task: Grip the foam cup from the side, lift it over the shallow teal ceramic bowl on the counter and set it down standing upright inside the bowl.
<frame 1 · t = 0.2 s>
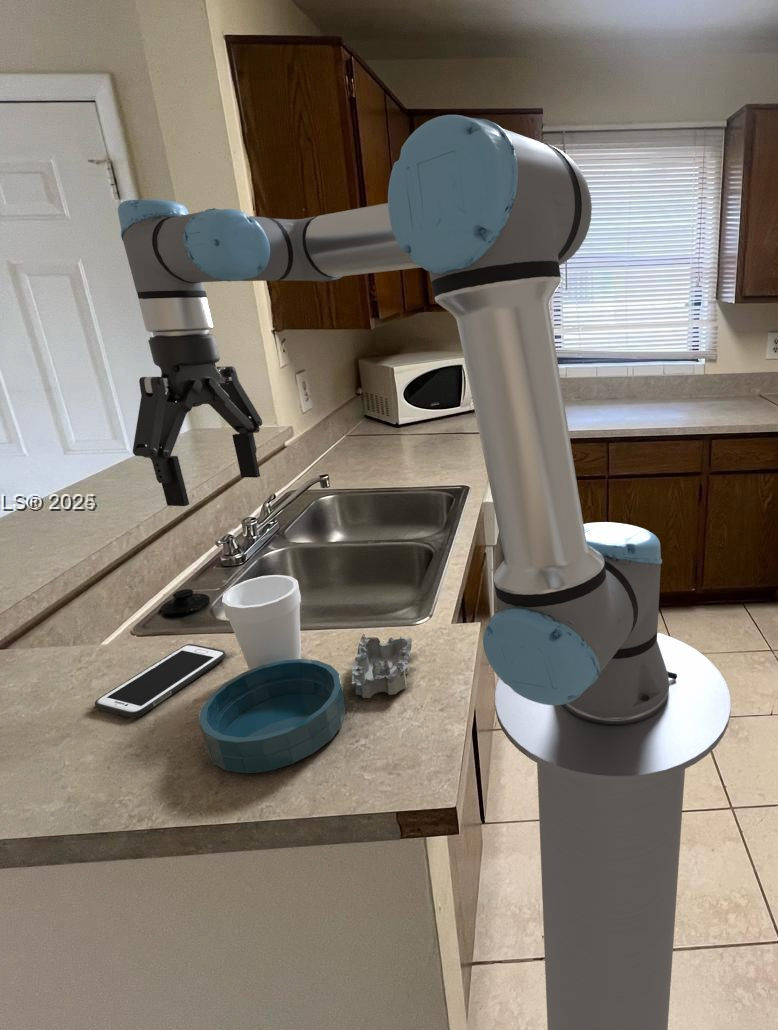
hand: (217, 490, 86), 25 cm above the counter, tool pointing down, fingers open, 13 cm apart
foam cup: (278, 671, 88), on the counter
cell phone: (165, 682, 85), on the counter
egg carton: (385, 675, 87), on the counter
bowl: (280, 729, 76), on the counter
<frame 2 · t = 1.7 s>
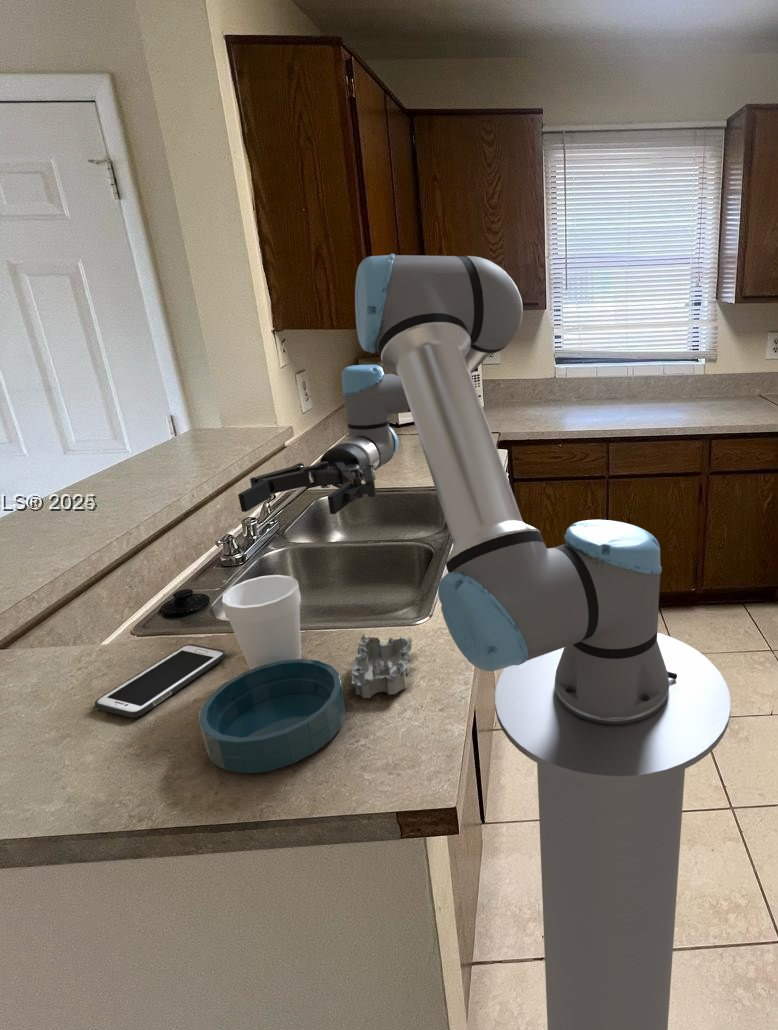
hand: (286, 504, 89), 22 cm above the counter, tool horizontal, fingers open, 13 cm apart
nothing on the counter moved.
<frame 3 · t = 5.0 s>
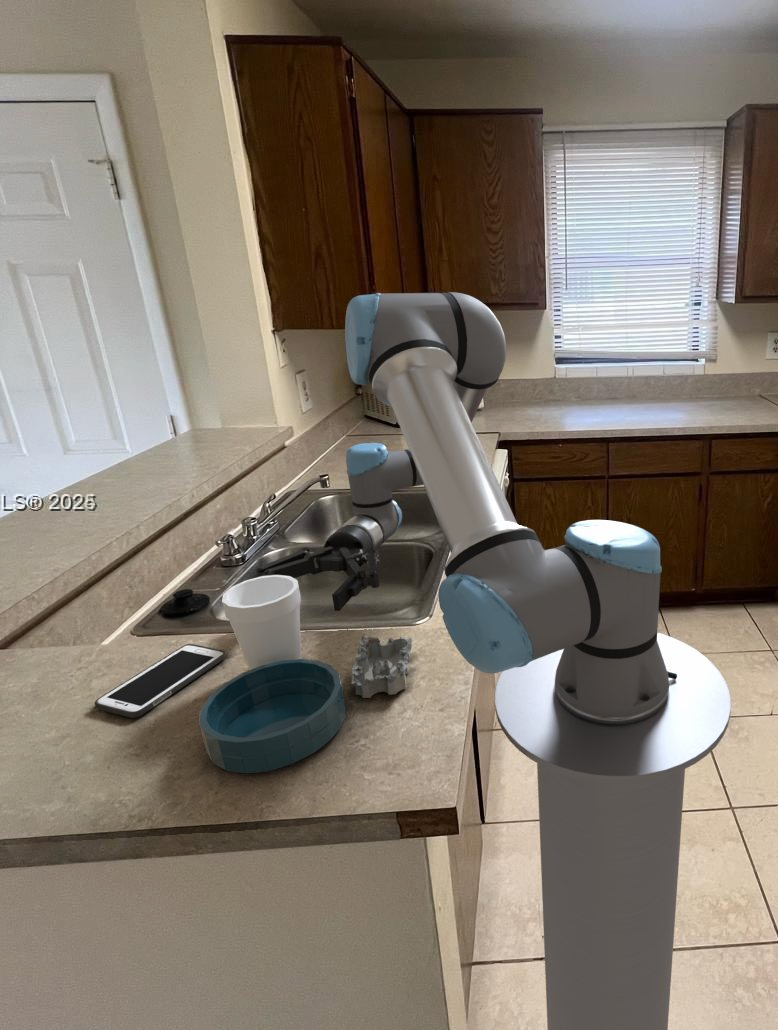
hand: (291, 601, 91), 8 cm above the counter, tool horizontal, fingers open, 13 cm apart
nothing on the counter moved.
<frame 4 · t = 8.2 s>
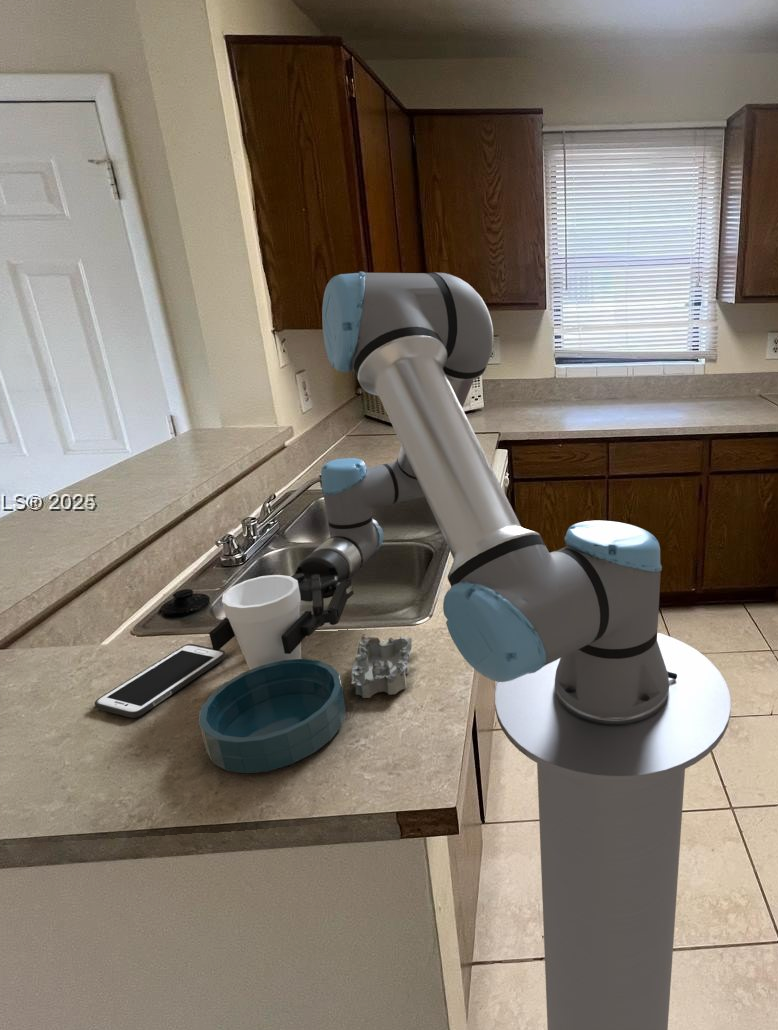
hand: (249, 643, 81), 7 cm above the counter, tool horizontal, fingers closed on foam cup, 9 cm apart
foam cup: (278, 671, 88), on the counter, touching gripper
everything else where it was.
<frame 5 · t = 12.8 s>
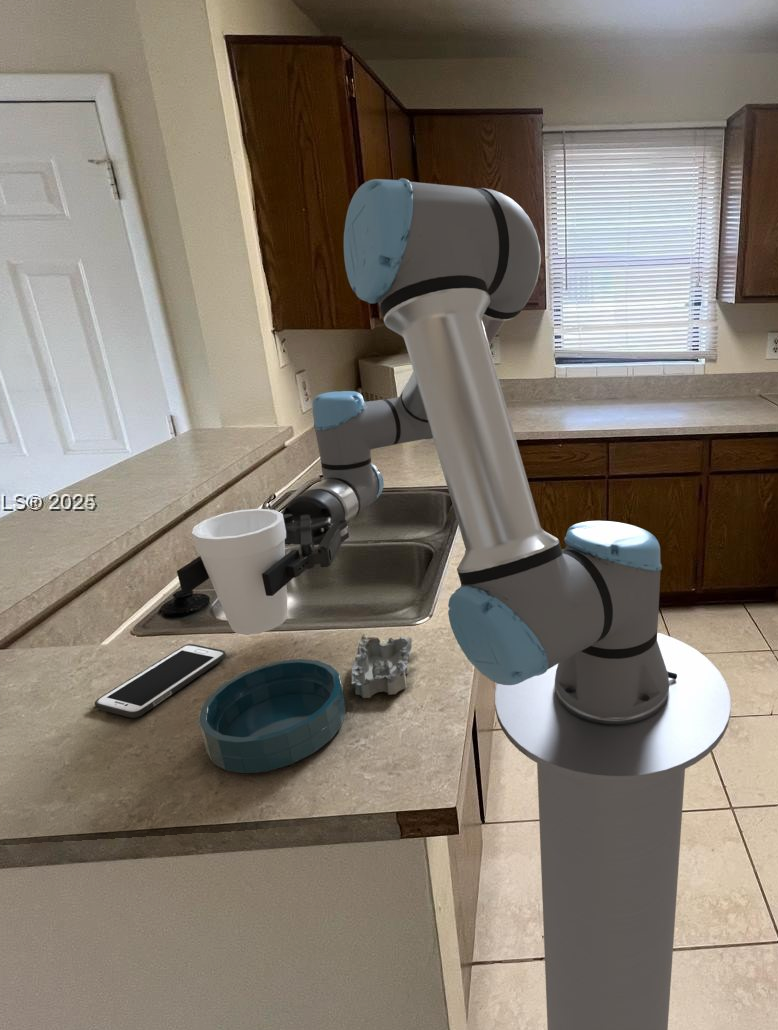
hand: (224, 583, 68), 21 cm above the counter, tool horizontal, fingers closed on foam cup, 9 cm apart
foam cup: (260, 622, 75), point 13 cm above the counter, touching gripper
everything else where it was.
when the fingers open (8 cm above the counter, at t = 17.4 s): foam cup stays where it is, resting on bowl.
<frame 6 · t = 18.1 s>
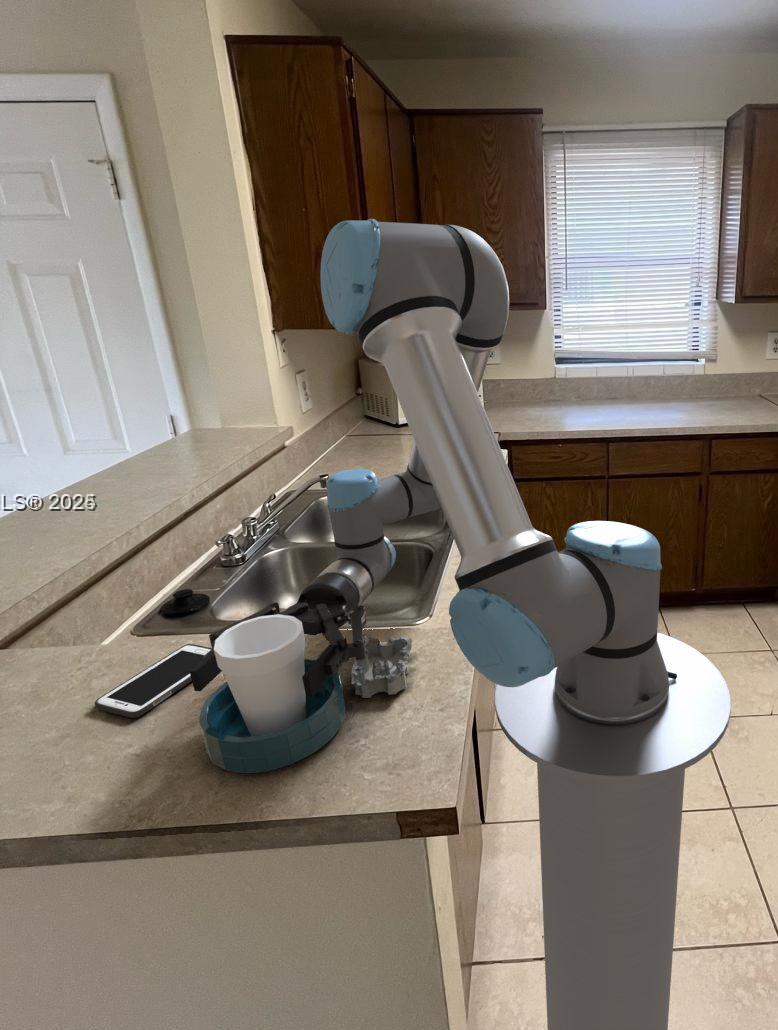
hand: (250, 684, 70), 9 cm above the counter, tool horizontal, fingers open, 13 cm apart
foam cup: (279, 726, 76), resting on bowl
everything else where it was.
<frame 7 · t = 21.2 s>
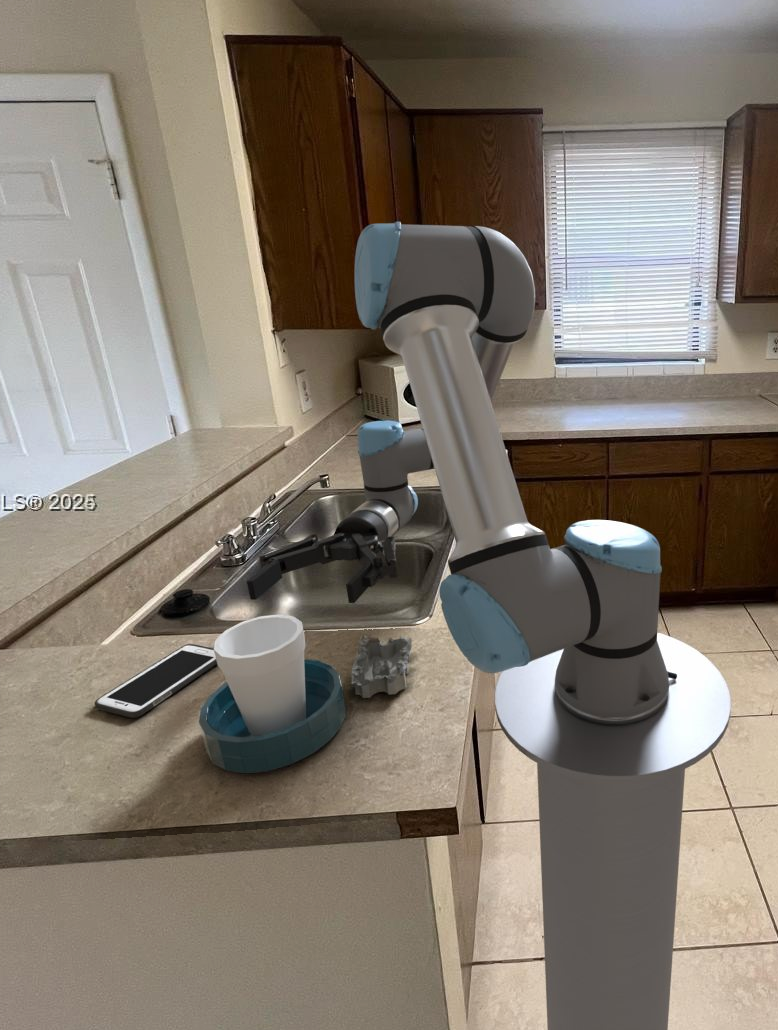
hand: (300, 592, 80), 14 cm above the counter, tool horizontal, fingers open, 13 cm apart
nothing on the counter moved.
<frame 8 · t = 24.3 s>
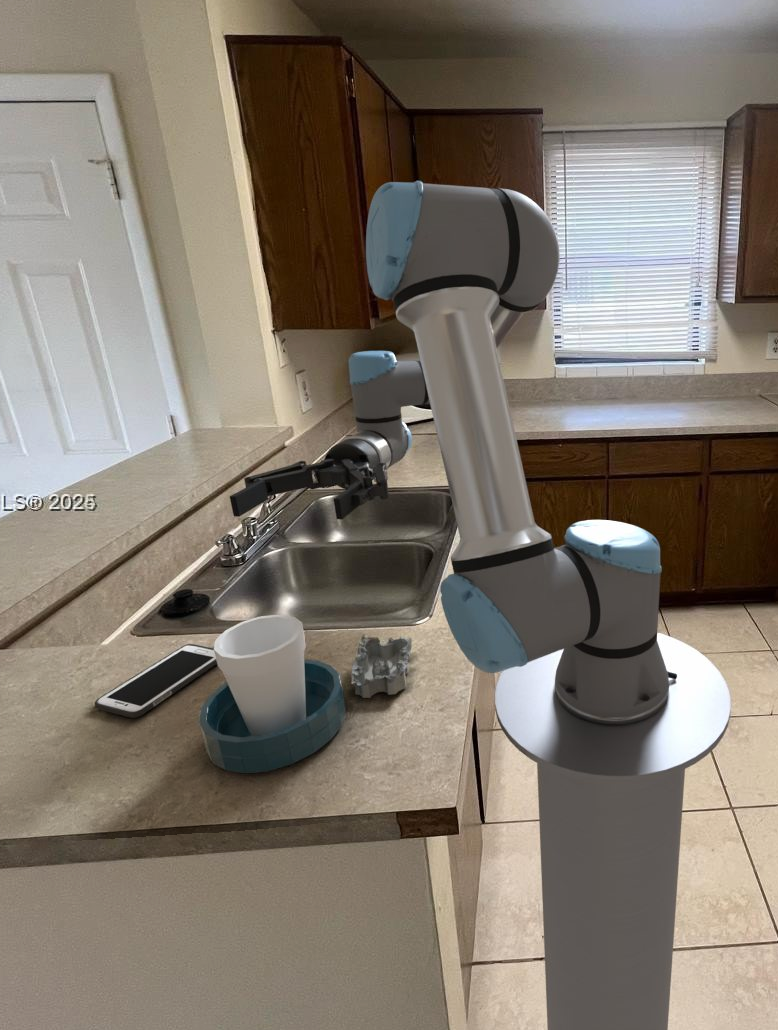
hand: (285, 508, 76), 26 cm above the counter, tool horizontal, fingers open, 13 cm apart
nothing on the counter moved.
at the end: foam cup 0.1 cm off-centre in the bowl, point 0.4 cm above the bowl's base; foam cup tilted 0°; the gripper is holding nothing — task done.
